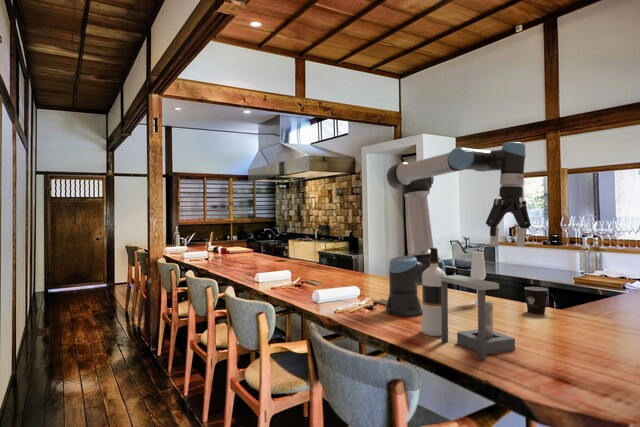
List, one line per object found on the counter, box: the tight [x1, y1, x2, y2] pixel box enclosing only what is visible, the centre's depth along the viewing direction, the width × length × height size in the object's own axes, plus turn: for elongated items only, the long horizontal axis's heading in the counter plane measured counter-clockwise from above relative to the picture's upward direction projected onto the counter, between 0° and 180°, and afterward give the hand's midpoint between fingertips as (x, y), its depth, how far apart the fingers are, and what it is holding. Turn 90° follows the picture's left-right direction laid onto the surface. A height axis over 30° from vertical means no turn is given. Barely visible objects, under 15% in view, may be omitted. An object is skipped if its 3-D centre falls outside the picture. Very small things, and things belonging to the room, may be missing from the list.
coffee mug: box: [524, 286, 556, 315], centre depth 171 cm, size 12×9×10 cm
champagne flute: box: [470, 250, 487, 306], centre depth 191 cm, size 7×7×24 cm
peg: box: [485, 300, 494, 339], centre depth 130 cm, size 4×4×14 cm
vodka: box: [420, 247, 447, 338], centre depth 144 cm, size 9×9×30 cm
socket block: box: [456, 329, 516, 355], centre depth 130 cm, size 12×12×4 cm
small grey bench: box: [441, 274, 500, 361], centre depth 128 cm, size 7×19×22 cm, turn 20°
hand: (507, 245), depth 146 cm, fingers open, 13 cm apart
